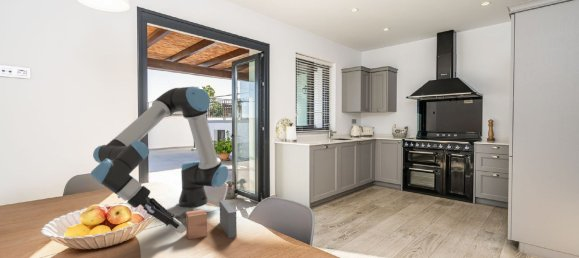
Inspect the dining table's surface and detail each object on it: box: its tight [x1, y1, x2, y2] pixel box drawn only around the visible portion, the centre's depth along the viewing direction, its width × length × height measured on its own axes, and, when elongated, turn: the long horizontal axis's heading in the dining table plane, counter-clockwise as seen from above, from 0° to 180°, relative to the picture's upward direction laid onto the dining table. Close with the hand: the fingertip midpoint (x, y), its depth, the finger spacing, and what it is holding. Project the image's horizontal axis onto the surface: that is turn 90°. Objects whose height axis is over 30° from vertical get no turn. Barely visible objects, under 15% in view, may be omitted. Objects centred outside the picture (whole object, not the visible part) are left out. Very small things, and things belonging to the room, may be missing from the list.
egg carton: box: [173, 208, 195, 226], centre depth 125 cm, size 11×8×4 cm
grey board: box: [219, 199, 238, 239], centre depth 115 cm, size 18×3×10 cm, turn 25°
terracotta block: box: [185, 209, 208, 240], centre depth 109 cm, size 6×7×9 cm
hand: (184, 230), depth 106 cm, fingers closed
